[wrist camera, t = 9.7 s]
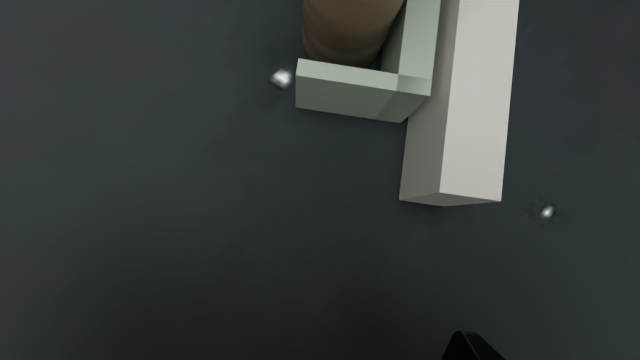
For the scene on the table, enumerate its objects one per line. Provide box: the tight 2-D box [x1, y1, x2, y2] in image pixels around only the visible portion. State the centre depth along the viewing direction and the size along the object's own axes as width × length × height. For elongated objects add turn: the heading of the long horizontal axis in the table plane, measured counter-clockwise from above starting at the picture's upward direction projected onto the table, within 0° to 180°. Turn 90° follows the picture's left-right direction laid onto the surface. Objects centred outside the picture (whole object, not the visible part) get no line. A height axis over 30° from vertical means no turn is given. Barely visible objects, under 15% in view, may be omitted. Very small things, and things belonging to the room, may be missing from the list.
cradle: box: [296, 0, 441, 123], centre depth 16 cm, size 5×7×4 cm, turn 172°
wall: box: [399, 0, 519, 206], centre depth 16 cm, size 2×14×5 cm, turn 172°
